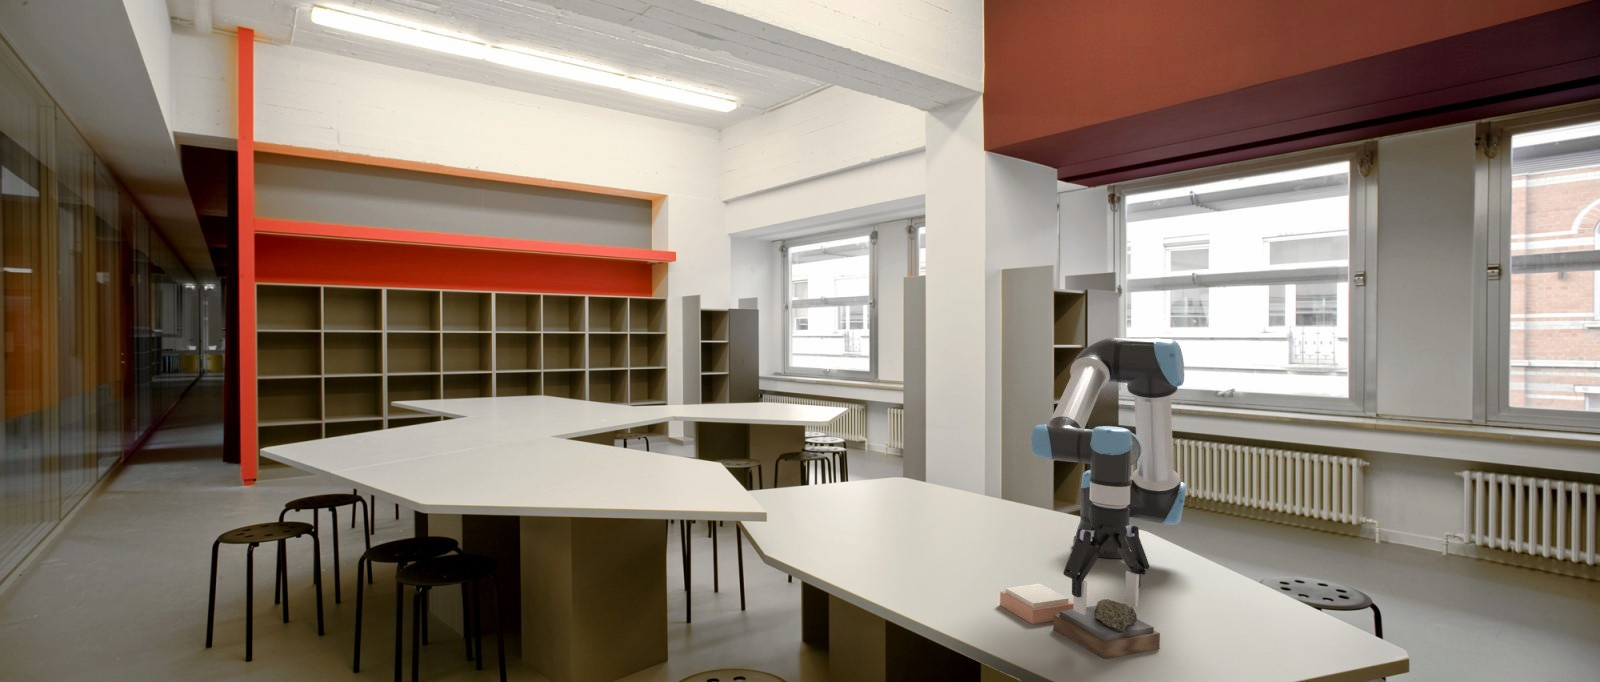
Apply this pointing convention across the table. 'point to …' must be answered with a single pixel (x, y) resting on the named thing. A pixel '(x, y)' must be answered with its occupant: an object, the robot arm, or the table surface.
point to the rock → (1115, 614)
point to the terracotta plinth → (1034, 602)
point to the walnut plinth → (1105, 634)
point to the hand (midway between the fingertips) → (1105, 608)
